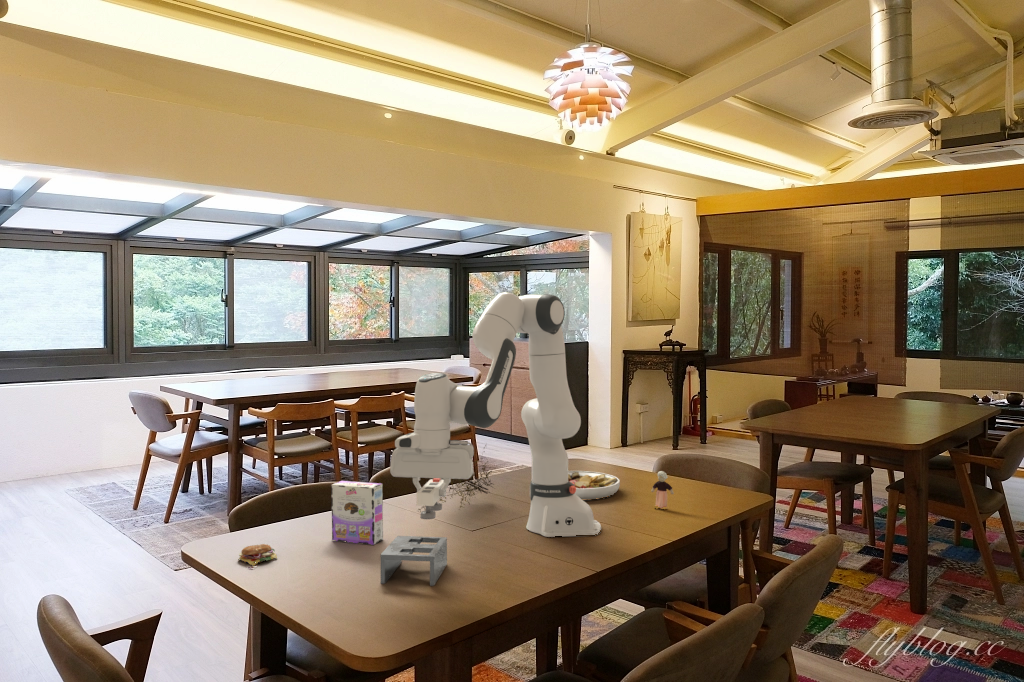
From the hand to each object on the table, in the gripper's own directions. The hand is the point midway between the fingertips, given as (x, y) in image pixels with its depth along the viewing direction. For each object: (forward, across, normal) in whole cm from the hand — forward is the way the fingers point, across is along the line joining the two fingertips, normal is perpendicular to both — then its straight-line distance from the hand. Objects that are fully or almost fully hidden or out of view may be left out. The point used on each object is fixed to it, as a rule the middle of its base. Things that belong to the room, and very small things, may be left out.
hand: (431, 495), depth 174 cm
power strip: (+4, 0, 0) cm, 4 cm away
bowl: (+19, -36, -90) cm, 98 cm away
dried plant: (+20, +3, -54) cm, 58 cm away
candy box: (+20, +27, -25) cm, 42 cm away
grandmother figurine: (+19, -64, -68) cm, 95 cm away
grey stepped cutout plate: (+20, +4, 0) cm, 20 cm away
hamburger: (+21, +47, -5) cm, 52 cm away
